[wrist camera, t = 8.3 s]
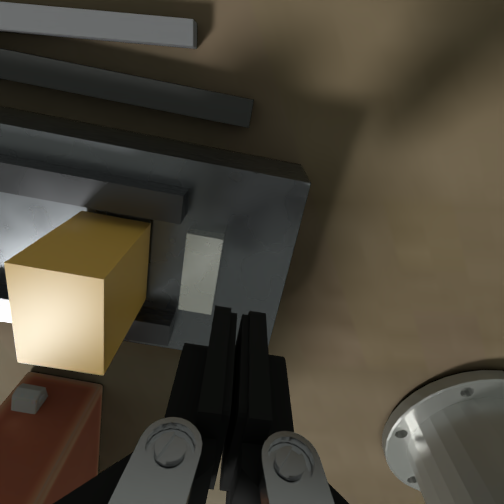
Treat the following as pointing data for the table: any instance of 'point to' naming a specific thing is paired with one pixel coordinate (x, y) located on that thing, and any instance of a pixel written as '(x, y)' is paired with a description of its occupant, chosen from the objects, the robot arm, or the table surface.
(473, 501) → the robot arm
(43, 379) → the control panel
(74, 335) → the yellow block
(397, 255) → the table surface
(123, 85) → the dark grey long bar
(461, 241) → the table surface
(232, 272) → the slider track
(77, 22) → the grey square bar
